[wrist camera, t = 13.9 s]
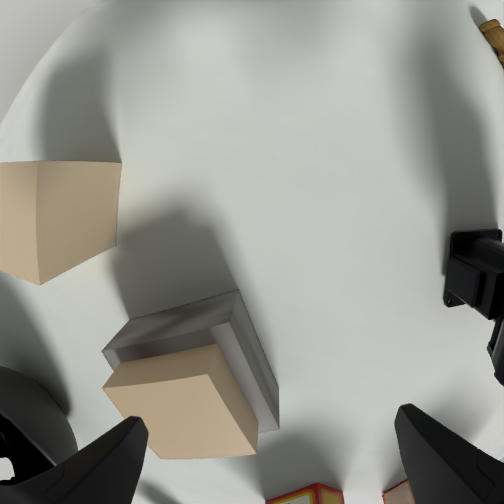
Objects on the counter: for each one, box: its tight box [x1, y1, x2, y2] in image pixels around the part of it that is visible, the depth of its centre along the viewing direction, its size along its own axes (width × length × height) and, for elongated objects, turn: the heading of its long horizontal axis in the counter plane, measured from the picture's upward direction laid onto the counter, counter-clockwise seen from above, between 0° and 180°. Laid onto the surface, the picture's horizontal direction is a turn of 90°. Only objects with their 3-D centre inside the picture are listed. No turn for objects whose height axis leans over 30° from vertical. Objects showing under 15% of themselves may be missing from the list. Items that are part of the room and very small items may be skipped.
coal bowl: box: [0, 366, 78, 486], centre depth 18 cm, size 20×20×19 cm
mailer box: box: [0, 161, 122, 285], centre depth 15 cm, size 6×6×9 cm
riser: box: [102, 289, 279, 433], centre depth 20 cm, size 10×10×5 cm
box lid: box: [102, 344, 259, 459], centre depth 16 cm, size 8×8×3 cm
